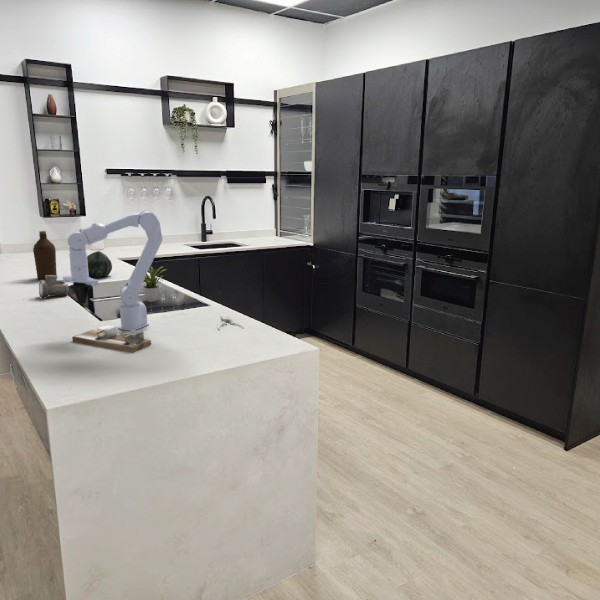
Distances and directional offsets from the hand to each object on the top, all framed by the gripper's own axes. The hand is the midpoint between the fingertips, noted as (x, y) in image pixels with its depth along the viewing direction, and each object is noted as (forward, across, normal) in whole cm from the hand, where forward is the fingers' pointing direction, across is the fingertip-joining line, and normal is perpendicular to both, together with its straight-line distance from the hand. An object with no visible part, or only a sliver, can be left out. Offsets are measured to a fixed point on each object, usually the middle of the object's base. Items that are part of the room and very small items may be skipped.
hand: (82, 303), depth 188 cm
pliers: (+11, +42, +31) cm, 53 cm away
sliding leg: (+9, +15, -6) cm, 18 cm away
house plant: (+11, -7, +49) cm, 51 cm away
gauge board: (+10, +18, -6) cm, 22 cm away
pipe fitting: (+11, -52, +34) cm, 63 cm away
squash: (+11, -68, +78) cm, 104 cm away
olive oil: (+11, -88, +62) cm, 108 cm away
